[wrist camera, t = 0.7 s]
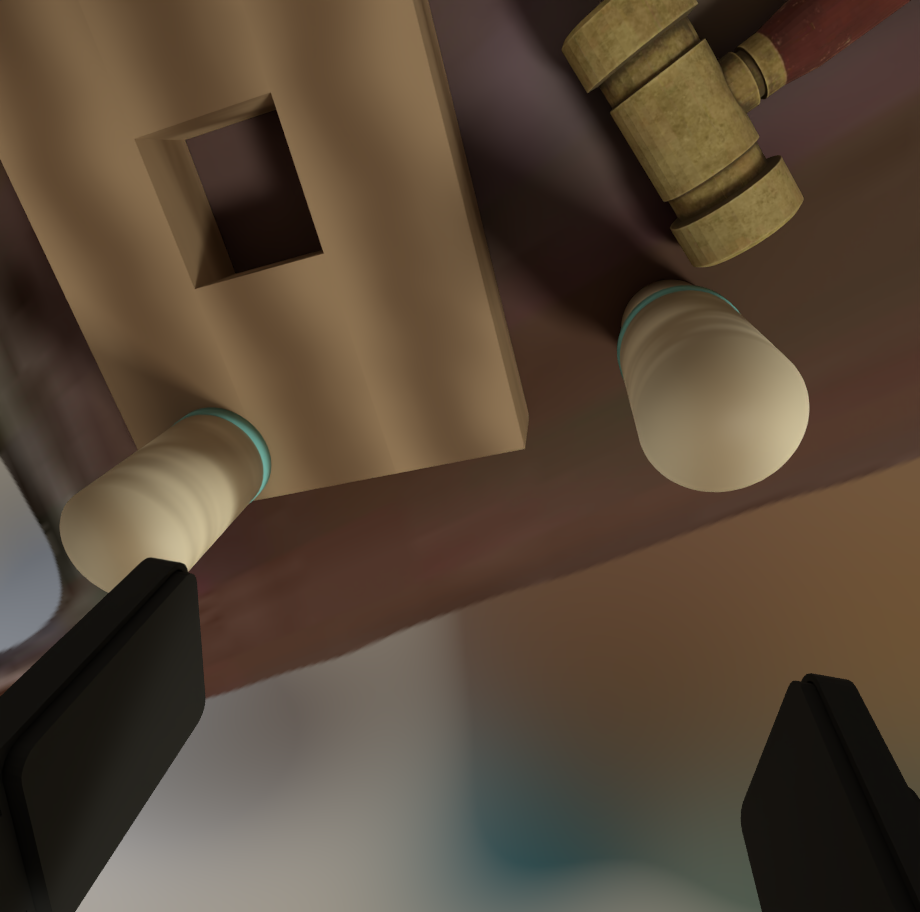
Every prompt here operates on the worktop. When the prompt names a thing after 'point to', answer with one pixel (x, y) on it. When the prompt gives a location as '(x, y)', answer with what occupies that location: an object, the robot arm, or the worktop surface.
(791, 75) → the gavel
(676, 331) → the peg
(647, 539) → the worktop surface
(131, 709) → the robot arm
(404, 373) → the board
